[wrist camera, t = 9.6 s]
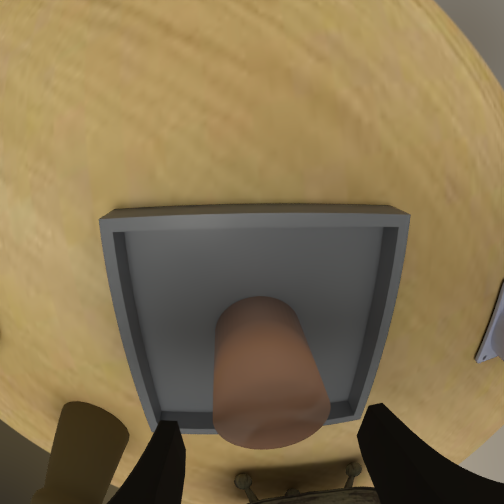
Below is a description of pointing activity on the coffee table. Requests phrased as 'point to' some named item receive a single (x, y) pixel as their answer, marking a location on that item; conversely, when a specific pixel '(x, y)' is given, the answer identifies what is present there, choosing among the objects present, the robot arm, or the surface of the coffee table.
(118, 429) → the brown pawn figure
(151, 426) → the tray
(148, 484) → the robot arm
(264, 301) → the brown clay cylinder
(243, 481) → the tabletop clock
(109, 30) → the coffee table surface
